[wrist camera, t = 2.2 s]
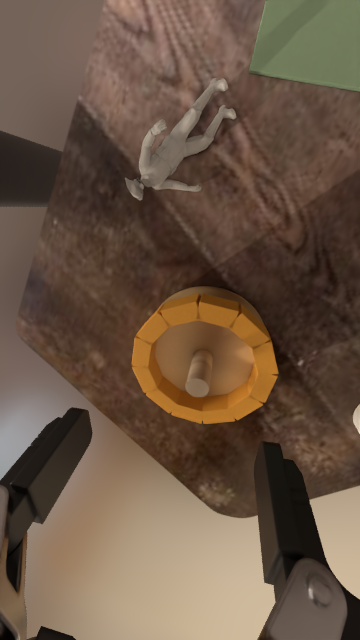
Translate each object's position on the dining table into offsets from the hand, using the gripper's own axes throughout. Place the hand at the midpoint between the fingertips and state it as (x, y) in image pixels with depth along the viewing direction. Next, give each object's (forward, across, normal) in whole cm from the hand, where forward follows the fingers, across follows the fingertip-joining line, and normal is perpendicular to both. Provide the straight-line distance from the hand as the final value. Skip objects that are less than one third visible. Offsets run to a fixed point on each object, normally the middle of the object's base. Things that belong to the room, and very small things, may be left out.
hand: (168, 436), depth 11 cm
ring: (+19, 0, +8) cm, 21 cm away
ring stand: (+23, 0, +8) cm, 24 cm away
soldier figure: (+23, +4, -15) cm, 28 cm away
